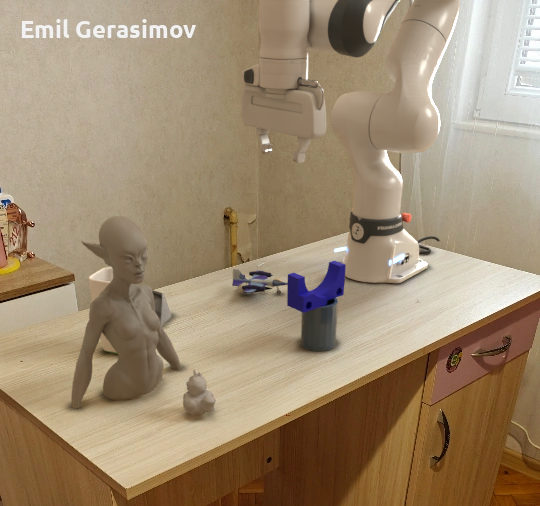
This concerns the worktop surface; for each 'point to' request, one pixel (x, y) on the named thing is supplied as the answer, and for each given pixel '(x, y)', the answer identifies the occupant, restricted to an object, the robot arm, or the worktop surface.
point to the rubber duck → (198, 396)
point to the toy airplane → (256, 281)
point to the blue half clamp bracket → (316, 289)
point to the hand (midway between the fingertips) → (282, 157)
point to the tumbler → (320, 327)
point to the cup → (97, 285)
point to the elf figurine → (124, 319)
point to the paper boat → (161, 307)
